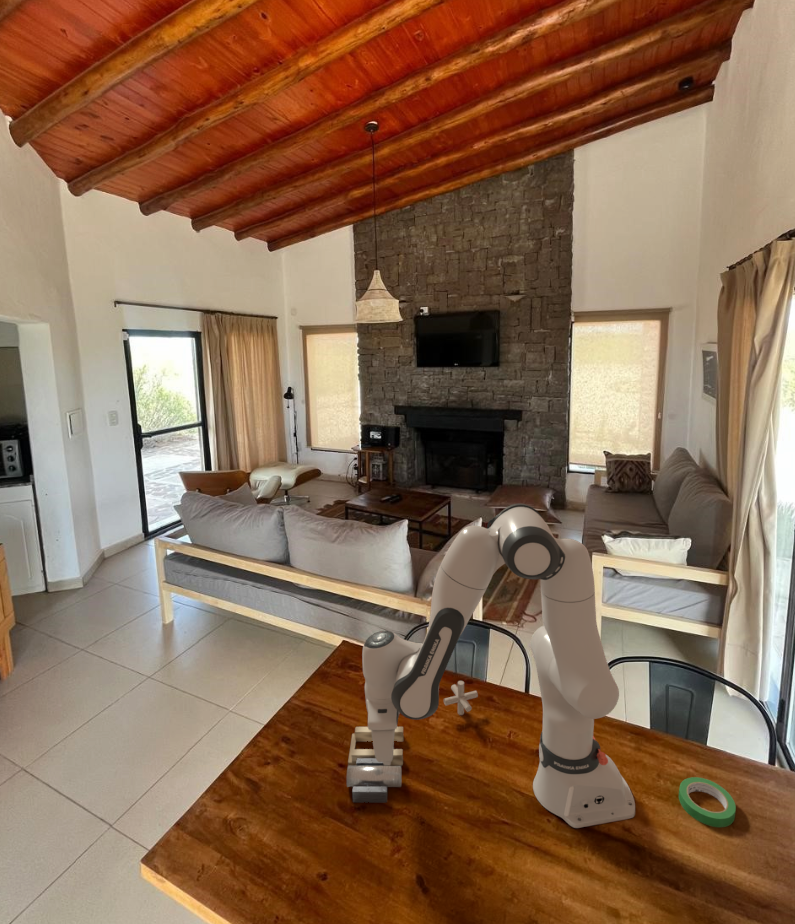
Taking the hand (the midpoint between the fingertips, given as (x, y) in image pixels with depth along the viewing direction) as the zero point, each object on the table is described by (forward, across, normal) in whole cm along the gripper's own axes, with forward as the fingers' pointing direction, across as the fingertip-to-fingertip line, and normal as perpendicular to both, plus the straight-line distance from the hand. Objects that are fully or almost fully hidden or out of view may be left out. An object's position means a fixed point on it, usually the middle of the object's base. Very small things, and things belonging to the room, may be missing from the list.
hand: (388, 747), depth 125 cm
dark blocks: (+10, +1, -5) cm, 11 cm away
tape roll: (+13, +6, +72) cm, 74 cm away
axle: (+7, +1, -4) cm, 8 cm away
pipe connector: (+11, -24, +19) cm, 33 cm away
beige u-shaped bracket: (+10, -10, -4) cm, 14 cm away
